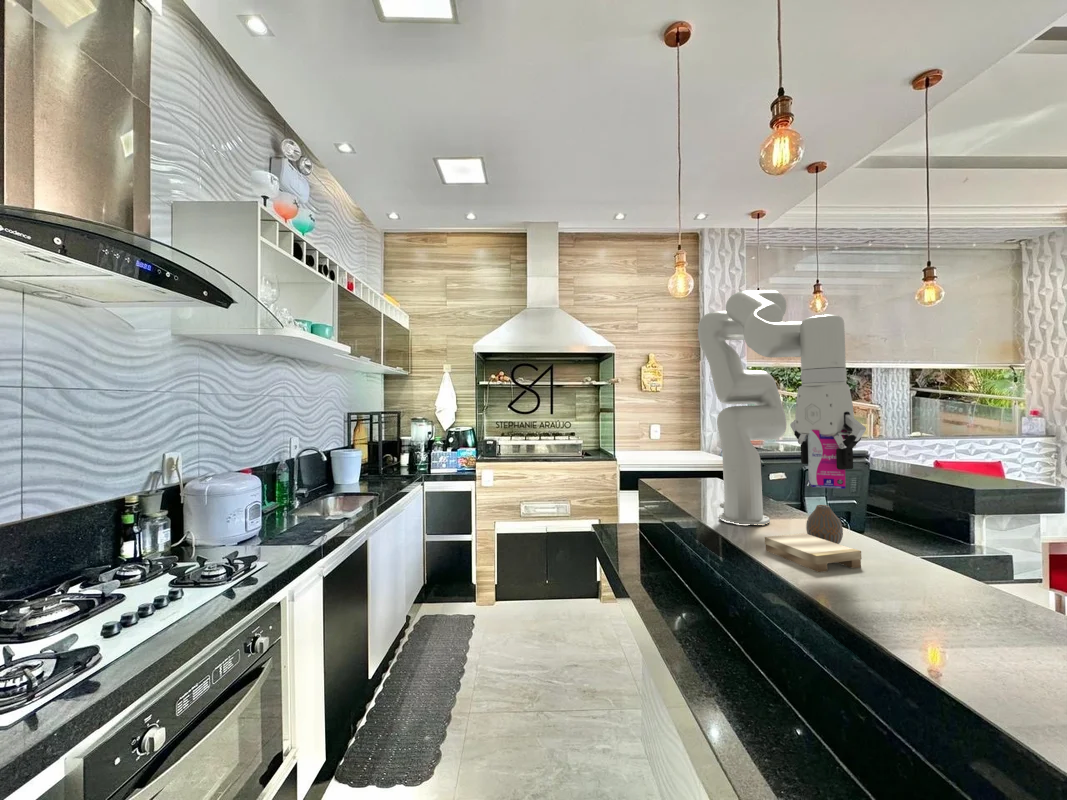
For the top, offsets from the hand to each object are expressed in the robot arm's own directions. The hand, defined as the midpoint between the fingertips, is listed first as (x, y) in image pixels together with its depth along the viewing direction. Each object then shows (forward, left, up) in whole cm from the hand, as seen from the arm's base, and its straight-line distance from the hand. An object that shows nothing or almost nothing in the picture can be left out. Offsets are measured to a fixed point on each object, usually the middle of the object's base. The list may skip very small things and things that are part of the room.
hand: (826, 465), depth 91 cm
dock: (-3, -2, -19) cm, 20 cm away
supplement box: (0, 0, -4) cm, 4 cm away
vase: (-10, +8, -19) cm, 23 cm away
